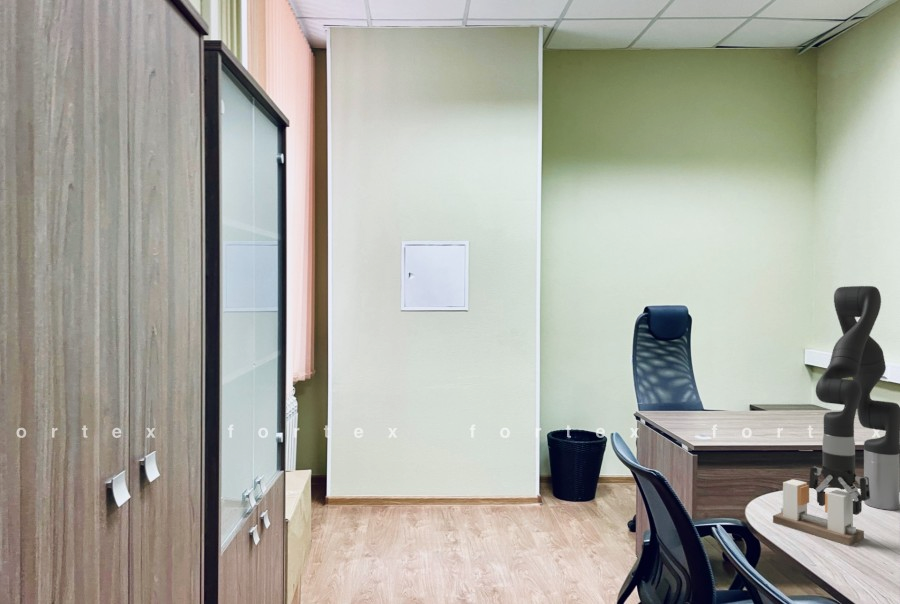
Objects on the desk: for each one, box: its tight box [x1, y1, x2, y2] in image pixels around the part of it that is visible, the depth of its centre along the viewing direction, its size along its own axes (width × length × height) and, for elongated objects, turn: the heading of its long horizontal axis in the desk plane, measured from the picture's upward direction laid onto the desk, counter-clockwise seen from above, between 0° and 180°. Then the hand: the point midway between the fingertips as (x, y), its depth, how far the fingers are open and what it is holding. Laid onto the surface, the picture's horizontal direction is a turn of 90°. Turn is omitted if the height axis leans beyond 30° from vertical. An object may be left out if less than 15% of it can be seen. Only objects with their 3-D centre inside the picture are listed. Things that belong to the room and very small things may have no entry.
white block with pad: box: [824, 489, 854, 534], centre depth 164 cm, size 6×5×10 cm
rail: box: [772, 478, 865, 547], centre depth 169 cm, size 9×20×12 cm, turn 34°
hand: (838, 509), depth 164 cm, fingers open, 8 cm apart
